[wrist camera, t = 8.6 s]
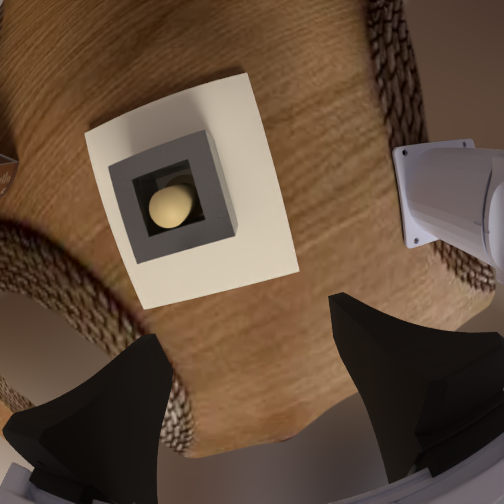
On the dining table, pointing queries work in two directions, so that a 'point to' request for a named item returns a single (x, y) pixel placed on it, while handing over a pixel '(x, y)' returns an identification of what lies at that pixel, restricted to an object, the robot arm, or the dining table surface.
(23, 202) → the dining table surface
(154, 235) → the collar
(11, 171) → the food container
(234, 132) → the shaft board
